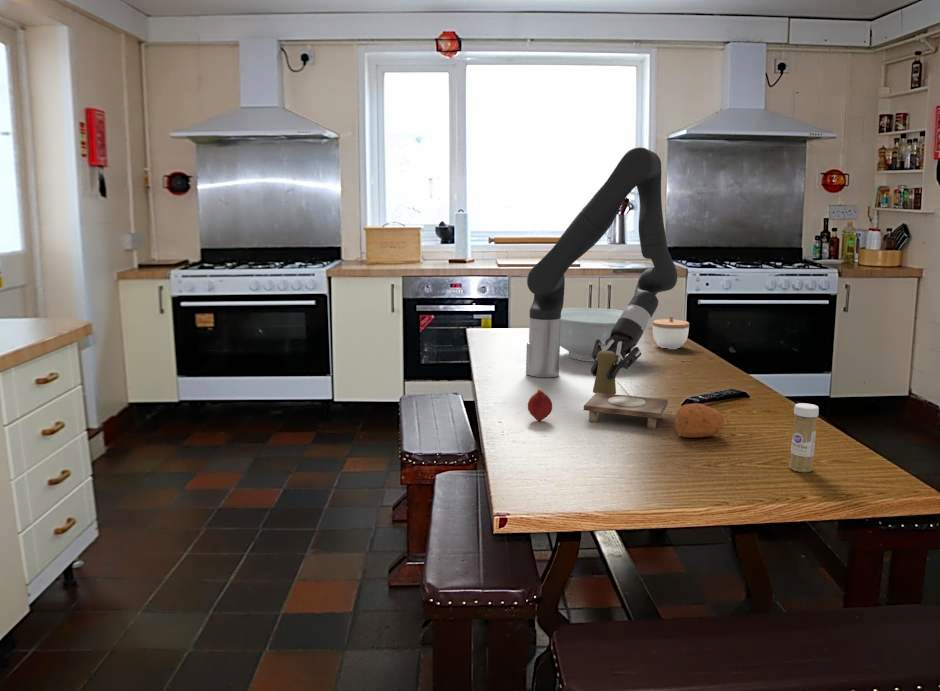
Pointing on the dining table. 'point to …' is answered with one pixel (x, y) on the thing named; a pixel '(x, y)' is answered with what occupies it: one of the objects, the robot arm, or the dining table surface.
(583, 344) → the bowl
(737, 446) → the dining table surface
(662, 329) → the lidded bowl
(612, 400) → the wooden stand
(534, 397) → the onion
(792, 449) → the sprinkles bottle
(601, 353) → the olive pepper mill
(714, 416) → the potato
